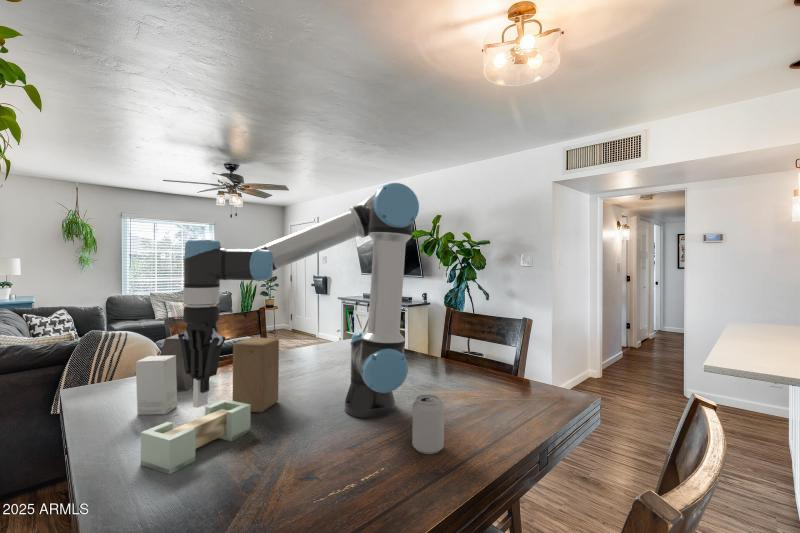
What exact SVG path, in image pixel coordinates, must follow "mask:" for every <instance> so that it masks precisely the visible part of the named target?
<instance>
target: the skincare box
mask: <svg viewBox="0 0 800 533" xmlns="http://www.w3.org/2000/svg"><path fill="white" fill-rule="evenodd" d="M135 375H136V376H135V377H136V378H135V379H136V408H137V410H136V411H137V415H140V416H143V415H144V416H146V415H148V416H149V415H150V416H151V415H167V414H169V412H171V411H173V410H174V409H175V408H177V406H178V391H177V379H176V355H172V356H160V355H148V356H146V357H144V358H141V359H139V360H137V361H135Z"/></svg>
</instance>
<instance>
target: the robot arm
mask: <svg viewBox="0 0 800 533" xmlns="http://www.w3.org/2000/svg"><path fill="white" fill-rule="evenodd" d="M348 209H349V210H348V212H345V213H342V214H340V215H337V216H334V217H331V218H329V219H327V220H325V221H322V222H319V223H317V224H314V225H312V226H310V227H307V228H305V229H301V230H299V231H296V232H294V233H291V234H289V235H287V236H283V237H281V238H278V239H275V240H273V241H271V242H268V243H266V244H264V245H260V246H258V247H256V248H252V249H251V248H249V249H248V248H235V249H234V248H222V245H221V242H220V240H217V239H204V238H203V239H202V238H201V239H199V238H197V239H196V238H193V239H188V240H187V241H186V242H185V245H184V257H183V277H184V278H183V280H184V281H183V297H182V298H183V300H182V302H183V304H184V305H186V306H184V307H183V308H182V310H183V316H182V318H183V319H182V320H183V322H184V323H185V324H186V326H185V327H186V328H185V330H184V331H183V332H181V333H177V334H178V337H179V340H180V342H181V347H182V354H183V360H184V367H185V373H186V374H190V375H191V378H192V387H191V389H192V392H193V393H192V407H193V408H197V409H198V408H202V407H203V406H207V405H209V404H208V401H209V398H208V397H209V395H208V394H209V390H210V378H211V377H214V376H216V375H217V374H218V373H217V372H218V367H219V364H220V359H221V353H222V348H223V345H224V343H225V341H226V336H224V335H223V336H222V335H220V334H219V333H218V328H217V322H218V321H219V320H220V305H217V304H219V303H220V286H221V285H220V284H221V281H230V280H231V281H256V282H258V281H270V280H271V279H272V277H273V271H276V270H278V269H281V268H284V267H286V266H288V265H291V264H293V263H295V262H298V261H301V260H303V259H305V258H308V257H310V256H313V255H315V254H317V253H320V252H322V251H326V250H328V249H329V248H332V247H334V246H337V245H339V244H342V243H345V242H347V241H349V240H352V239H354V238H356V237H360V238H362V239H363V238H366V237H368V236H370V238H371V239H372V241H373V249H372V259H371V260H372V263H371V264H372V265H371V277H370V278H371V279H370V291H369V306H368V319H367V320H368V321H367V322H368V323H367V330H366V331H364V332H363V331H362V332H355V333H353V334H352V336H351V340H350V341H351V342H350V350H351V351H350V384H349V388H348V391H347V393H346V396H345V399H344V411H345V413H346V414H348V415H349V416H352V417H356V418H361V419H362V418H363V419H375V418H377V419H378V418H381V417H385V416H389V415H390V414H392V413H394V412H395V409H396V400H395V396H394V393H393V392H394V391H396V390H397V389H399V388H400V387H401V386H402V385H403V384H404V382H405V381H406V380H407V378H408V374H409V364H408V361H407V358H406V356H405V346H406V345H405V343H406V342H405V341H406V338H405V337H404V336H403V335H402V333H401V316H402V304H403V302H402V301H403V288H404V287H403V286H404V276H405V275H404V274H405V260H406V258H405V256H406V245H407V242H408V241H410V239H412V237H413V225H414V222H415V221H416V220H417V217H418V214H419V212H420V211H419V210H420V202H419V198H418V196H417V195H416V193H415V192H414V190H413V189H412V188H410V187H409V186H407V185H406V184H403V183H399V182H390V183H388V184H387V183H386V184H384V185H382V186H380V187H379V188H377V190H376V191H375V192H373V193H372V194H371V195H370V196H369V197H367V198H366V199H365V200H363V201H362V202H360V203H358V204H355V205H353V206H350V207H349V208H348ZM190 367H191V368H190Z"/></svg>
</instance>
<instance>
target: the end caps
mask: <svg viewBox="0 0 800 533" xmlns="http://www.w3.org/2000/svg"><path fill="white" fill-rule="evenodd" d="M220 409H224V410H229V411H227V426H226V434H224V435H222V436H220V437H218V438H217V439H222V440H224V441H228V442H234V441H236V440H237V439H240V438H241V437H243V436H245V435H247V434H249V433H250V432H251V413H252V412H251V405H250V404H245V403H241V402H236V401H233V400H231V399H230V400H229V399H222V400H219V401H216V402H215V403H212V404H208V405H205V409H204V410H205V412H204V413H205V415H204V416H206V415H208V414H211V413H213V412H215V411H218V410H220ZM173 426H174V424H173V422H171V421H166V422H164V423H161V424H158V425H156V426H153V427H151V428H148V429H146V430H144V431H141V432H140V466H143V467H146V468H149V469H152V470H154V471H157V472H161V473H164V474H167V475H170V474H173V473H174V472H177V471H179V470H180V469H183V468H184V467H186V466H188V465H190V464H191V463H194V462H196V449H195V435H196V429H194V428H188V429H185V430H183V431H181V432H178V433H176V434H174V435H171V436H170V435H166V434H163V433H165V432H167V431H170V430H172V429H174V427H173Z"/></svg>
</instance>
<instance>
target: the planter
mask: <svg viewBox="0 0 800 533" xmlns="http://www.w3.org/2000/svg"><path fill="white" fill-rule="evenodd" d="M178 334H179V333H177V334H175V335H172V336H168V337H166V338H165V339H164V342H163V344H162V348H161V351H160V352H159V353H160V354H159V356H172V355H176V379H177V392H178V391H179V392H181V391H182V392H183V391H184V392H186V391H188V390H190V389H192V378H191V375H190V374H186V373H185V367H184V360H183V354H182V347H181V342H180V340H179V337H178ZM190 368H191V367H190Z"/></svg>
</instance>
